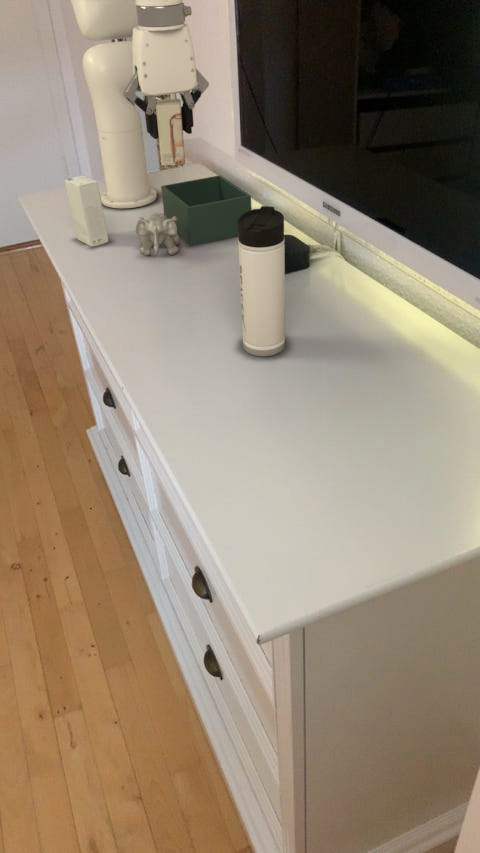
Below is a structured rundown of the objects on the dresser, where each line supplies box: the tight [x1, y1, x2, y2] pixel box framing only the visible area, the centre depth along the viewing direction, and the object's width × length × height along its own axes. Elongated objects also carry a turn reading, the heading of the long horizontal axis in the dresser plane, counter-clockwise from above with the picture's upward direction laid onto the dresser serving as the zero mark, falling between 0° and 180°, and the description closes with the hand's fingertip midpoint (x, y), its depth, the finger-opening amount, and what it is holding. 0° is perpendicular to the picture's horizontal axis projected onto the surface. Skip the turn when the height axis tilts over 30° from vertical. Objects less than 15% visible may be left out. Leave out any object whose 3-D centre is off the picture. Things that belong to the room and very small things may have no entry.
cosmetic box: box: [64, 175, 110, 248], centre depth 137 cm, size 6×4×12 cm
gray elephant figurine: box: [135, 212, 181, 256], centre depth 131 cm, size 9×12×8 cm
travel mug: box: [237, 205, 286, 357], centre depth 98 cm, size 6×7×20 cm
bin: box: [160, 174, 252, 247], centre depth 142 cm, size 15×13×8 cm
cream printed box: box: [155, 98, 186, 167], centre depth 124 cm, size 5×4×10 cm
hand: (170, 133), depth 124 cm, fingers closed on cream printed box, 5 cm apart
